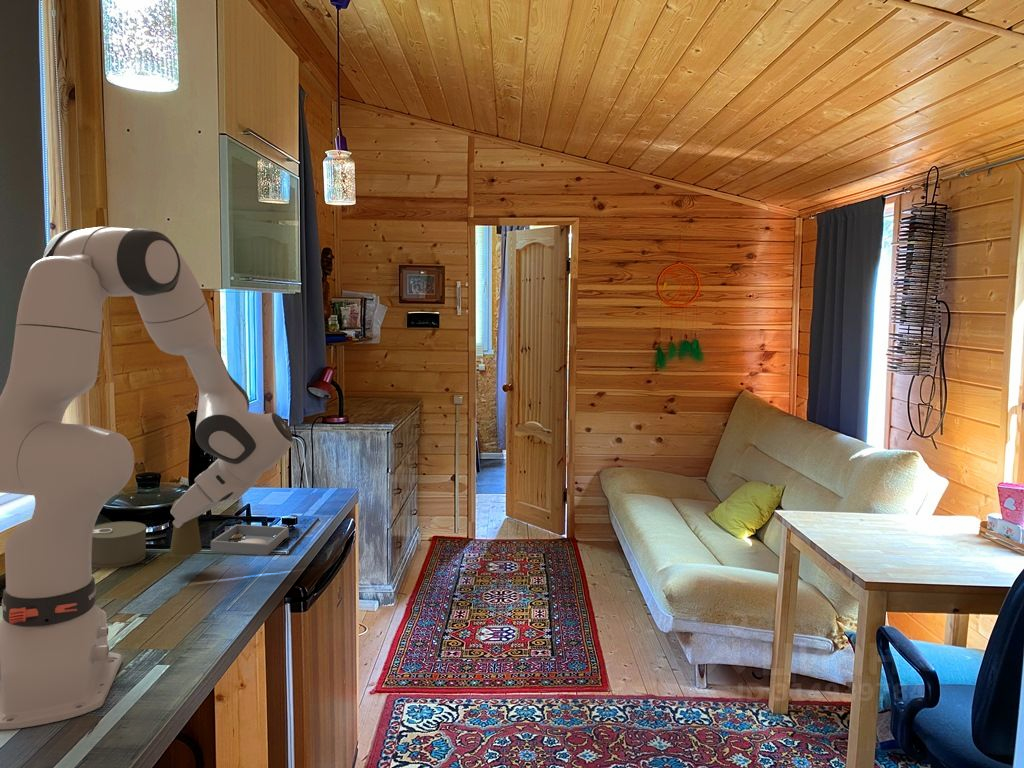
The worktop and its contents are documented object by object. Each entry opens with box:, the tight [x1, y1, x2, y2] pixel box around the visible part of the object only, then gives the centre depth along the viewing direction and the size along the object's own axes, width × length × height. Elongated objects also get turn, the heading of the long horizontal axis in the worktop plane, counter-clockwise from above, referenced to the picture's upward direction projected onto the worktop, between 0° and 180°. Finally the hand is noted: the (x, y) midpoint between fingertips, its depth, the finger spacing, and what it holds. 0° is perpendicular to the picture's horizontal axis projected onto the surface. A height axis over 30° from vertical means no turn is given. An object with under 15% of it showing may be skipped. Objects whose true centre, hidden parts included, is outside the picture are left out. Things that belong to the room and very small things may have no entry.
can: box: [92, 520, 147, 569], centre depth 163 cm, size 12×12×7 cm
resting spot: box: [238, 539, 267, 544], centre depth 175 cm, size 7×7×1 cm
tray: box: [210, 523, 290, 556], centre depth 175 cm, size 13×13×3 cm
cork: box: [169, 498, 202, 556], centre depth 153 cm, size 6×6×11 cm
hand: (183, 521), depth 153 cm, fingers closed on cork, 4 cm apart
